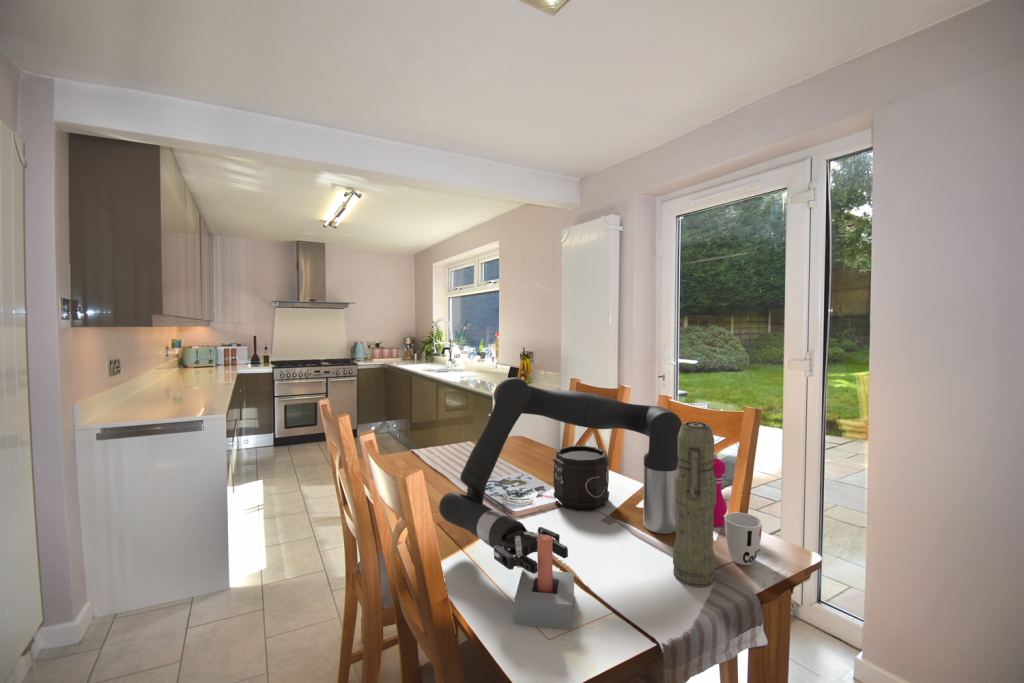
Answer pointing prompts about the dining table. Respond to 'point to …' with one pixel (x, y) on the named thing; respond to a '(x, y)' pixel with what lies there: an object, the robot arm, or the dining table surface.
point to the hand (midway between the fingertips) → (552, 560)
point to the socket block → (545, 601)
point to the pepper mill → (719, 494)
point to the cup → (743, 537)
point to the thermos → (694, 506)
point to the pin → (545, 564)
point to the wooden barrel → (581, 477)
